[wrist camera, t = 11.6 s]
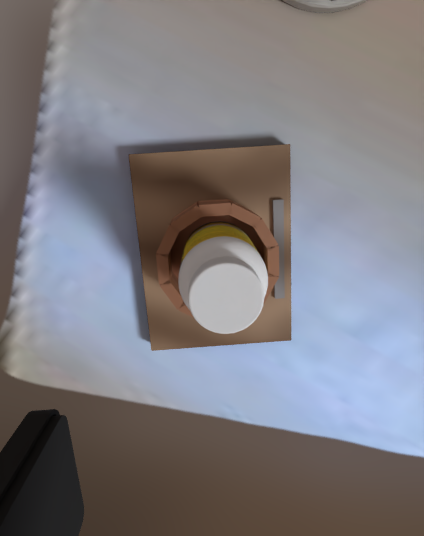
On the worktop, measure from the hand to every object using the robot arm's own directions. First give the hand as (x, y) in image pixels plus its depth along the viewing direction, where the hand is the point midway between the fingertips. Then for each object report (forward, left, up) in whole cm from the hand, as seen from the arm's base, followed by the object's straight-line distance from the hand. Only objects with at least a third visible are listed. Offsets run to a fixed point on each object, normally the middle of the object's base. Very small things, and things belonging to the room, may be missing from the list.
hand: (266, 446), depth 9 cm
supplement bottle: (0, 0, -21) cm, 21 cm away
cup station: (0, 0, -22) cm, 22 cm away
